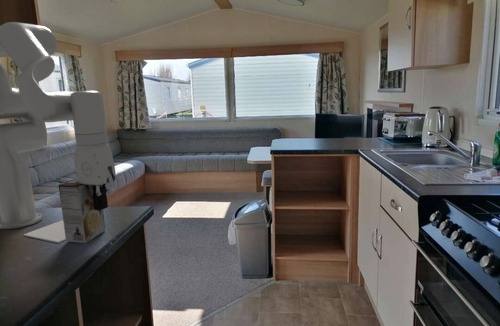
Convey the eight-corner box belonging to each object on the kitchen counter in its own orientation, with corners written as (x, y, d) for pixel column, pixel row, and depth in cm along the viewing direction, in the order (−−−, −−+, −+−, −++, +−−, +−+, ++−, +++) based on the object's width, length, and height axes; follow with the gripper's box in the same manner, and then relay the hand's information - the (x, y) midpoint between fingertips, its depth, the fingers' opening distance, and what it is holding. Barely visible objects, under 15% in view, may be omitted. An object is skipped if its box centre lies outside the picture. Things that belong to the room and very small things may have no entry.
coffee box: (86, 228, 107) (80, 175, 103) (106, 230, 105) (100, 176, 102) (64, 242, 98) (57, 184, 94) (86, 243, 97) (79, 185, 93)
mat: (23, 235, 105) (23, 234, 105) (66, 219, 117) (66, 218, 117) (58, 243, 98) (58, 241, 98) (100, 225, 110) (100, 224, 110)
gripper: (59, 141, 93) (69, 210, 97) (100, 142, 86) (110, 216, 90) (84, 137, 100) (93, 202, 103) (124, 138, 93) (132, 207, 96)
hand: (101, 208), depth 97 cm, fingers closed
